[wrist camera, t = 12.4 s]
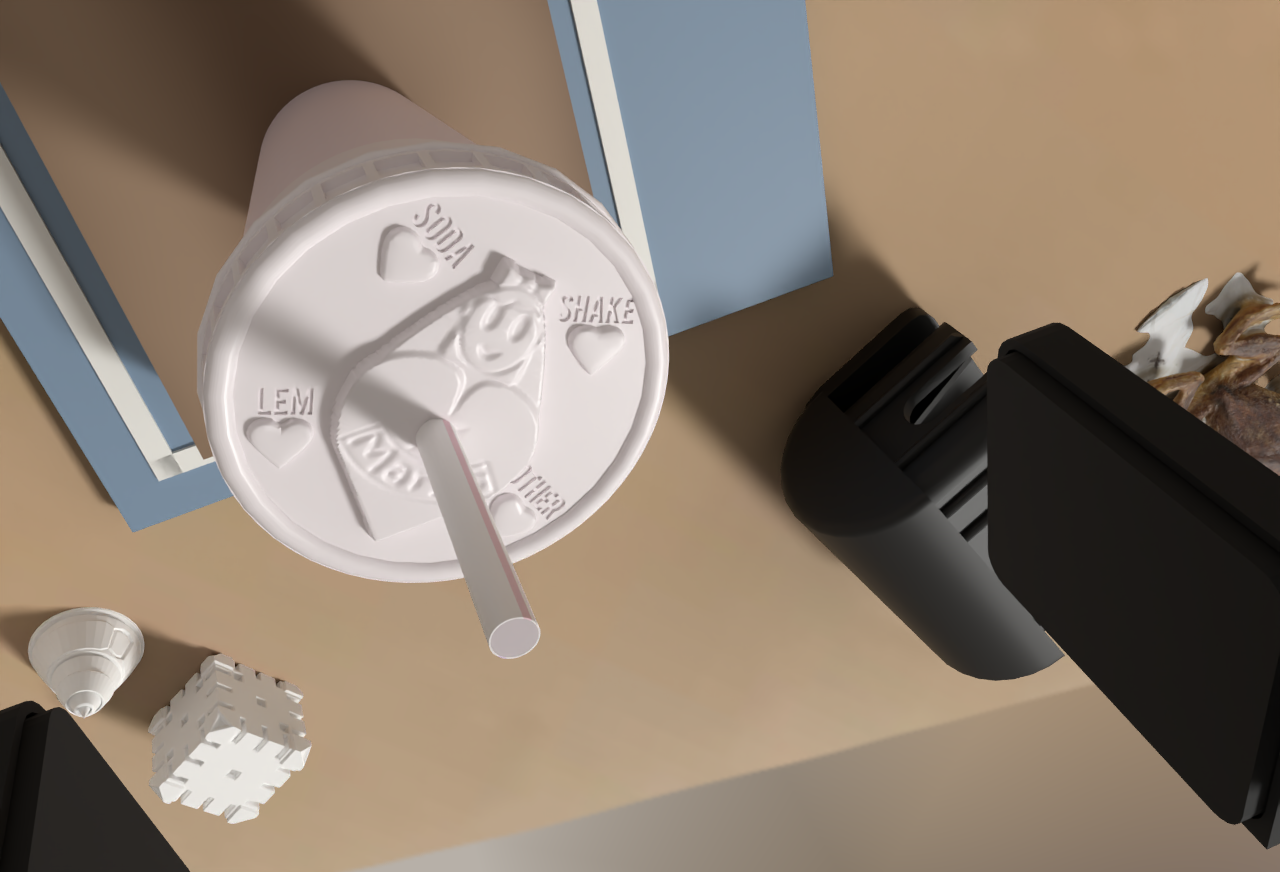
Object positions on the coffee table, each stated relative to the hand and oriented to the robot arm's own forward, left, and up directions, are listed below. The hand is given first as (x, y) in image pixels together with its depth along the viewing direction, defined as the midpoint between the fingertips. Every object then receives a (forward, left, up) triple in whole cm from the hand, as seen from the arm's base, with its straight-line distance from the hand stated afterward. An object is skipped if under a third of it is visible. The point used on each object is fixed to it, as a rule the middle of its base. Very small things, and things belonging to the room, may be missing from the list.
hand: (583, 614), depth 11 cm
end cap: (-13, +16, -19) cm, 28 cm away
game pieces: (+11, +12, -19) cm, 25 cm away
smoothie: (0, 0, -15) cm, 15 cm away
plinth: (+1, 0, -18) cm, 18 cm away
